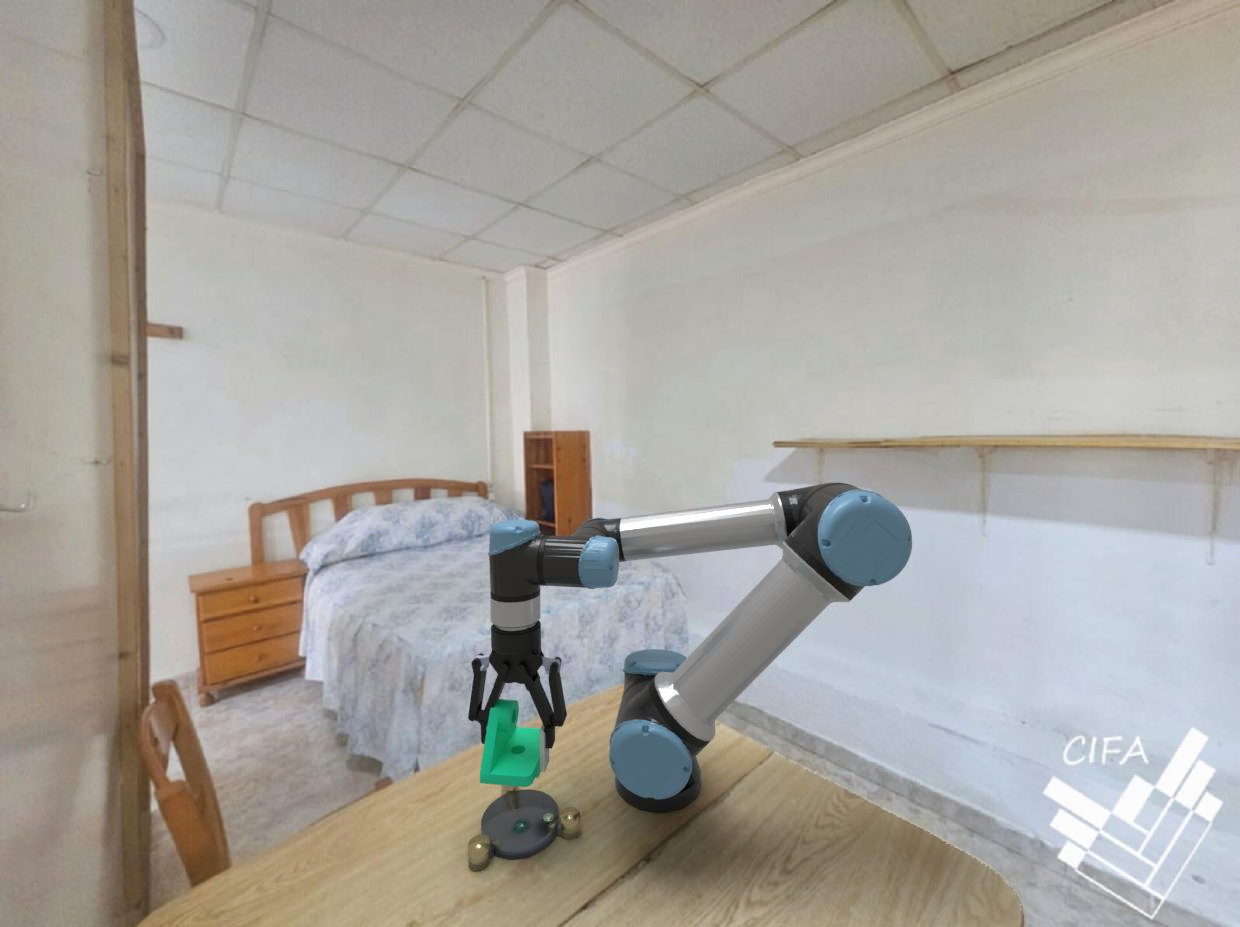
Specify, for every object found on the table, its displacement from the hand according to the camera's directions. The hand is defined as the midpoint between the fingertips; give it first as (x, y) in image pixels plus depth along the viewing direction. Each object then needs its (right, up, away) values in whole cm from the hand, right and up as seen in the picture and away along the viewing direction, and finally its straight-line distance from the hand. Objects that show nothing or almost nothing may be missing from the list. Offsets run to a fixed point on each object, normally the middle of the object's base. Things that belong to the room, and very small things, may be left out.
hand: (518, 764), depth 81 cm
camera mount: (0, 0, 0) cm, 0 cm away
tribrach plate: (+2, -10, 0) cm, 11 cm away
